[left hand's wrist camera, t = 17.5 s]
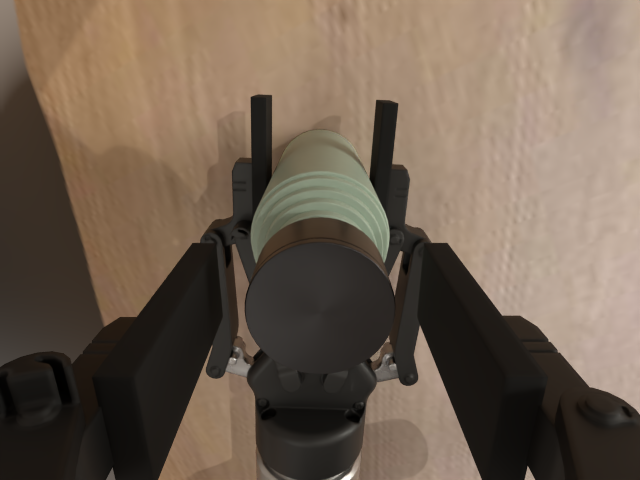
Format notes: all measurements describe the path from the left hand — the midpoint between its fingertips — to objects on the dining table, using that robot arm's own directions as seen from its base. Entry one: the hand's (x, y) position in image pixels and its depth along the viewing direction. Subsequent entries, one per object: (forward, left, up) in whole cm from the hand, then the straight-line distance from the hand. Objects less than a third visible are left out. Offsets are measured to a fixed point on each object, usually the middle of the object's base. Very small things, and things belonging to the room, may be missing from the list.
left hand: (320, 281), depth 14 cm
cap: (0, 0, +2) cm, 2 cm away
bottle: (0, 0, -17) cm, 17 cm away
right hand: (-5, 0, -11) cm, 12 cm away
